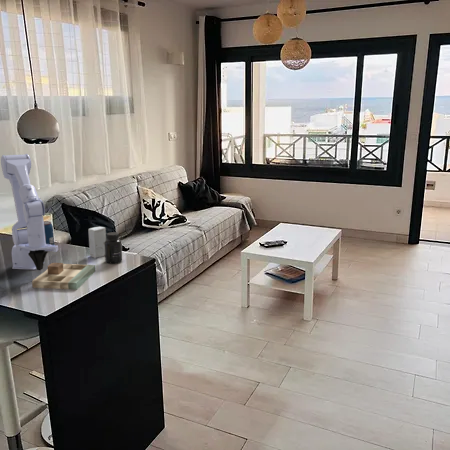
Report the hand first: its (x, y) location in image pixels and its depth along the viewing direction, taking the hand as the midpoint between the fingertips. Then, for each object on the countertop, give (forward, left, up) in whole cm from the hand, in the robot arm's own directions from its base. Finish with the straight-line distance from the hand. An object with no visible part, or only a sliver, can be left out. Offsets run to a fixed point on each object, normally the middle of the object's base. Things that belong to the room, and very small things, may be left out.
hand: (39, 269), depth 165 cm
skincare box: (+12, +28, -4) cm, 30 cm away
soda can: (-14, +34, -4) cm, 37 cm away
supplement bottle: (+21, +21, -4) cm, 30 cm away
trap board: (+9, 0, -3) cm, 10 cm away
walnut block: (+6, 0, -1) cm, 6 cm away
